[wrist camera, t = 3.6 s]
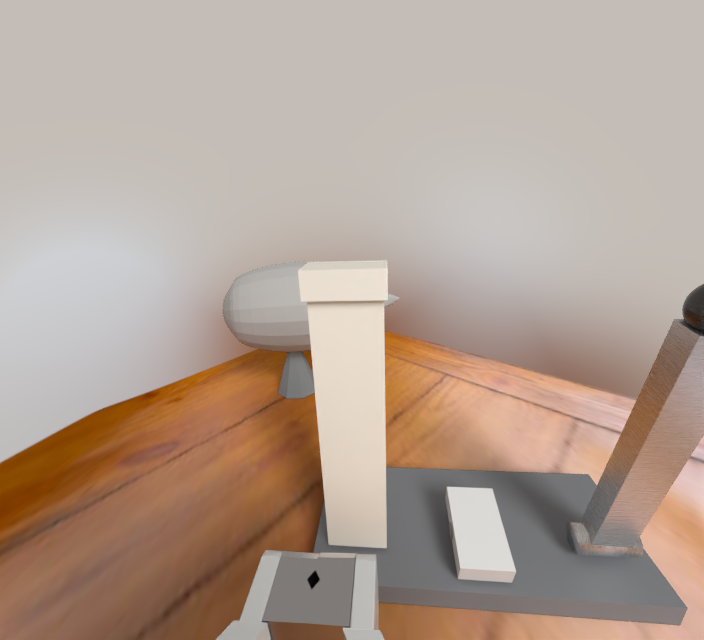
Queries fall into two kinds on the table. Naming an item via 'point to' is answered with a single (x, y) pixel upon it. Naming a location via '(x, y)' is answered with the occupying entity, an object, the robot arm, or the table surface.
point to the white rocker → (478, 535)
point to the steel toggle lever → (649, 444)
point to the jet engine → (275, 320)
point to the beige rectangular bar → (350, 394)
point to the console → (525, 546)
